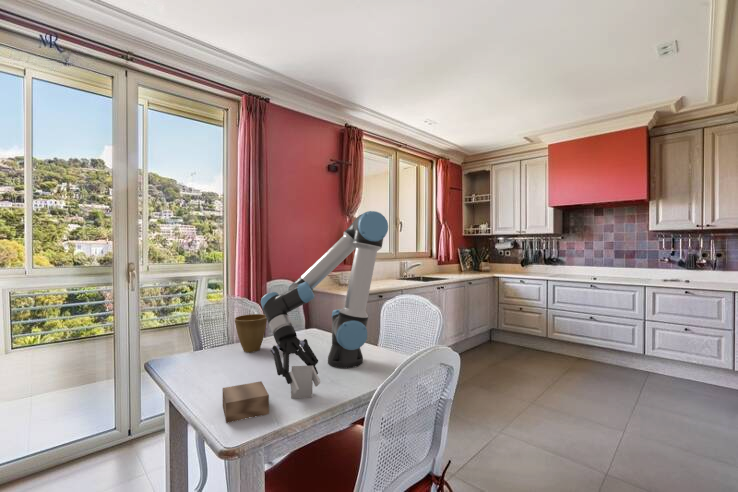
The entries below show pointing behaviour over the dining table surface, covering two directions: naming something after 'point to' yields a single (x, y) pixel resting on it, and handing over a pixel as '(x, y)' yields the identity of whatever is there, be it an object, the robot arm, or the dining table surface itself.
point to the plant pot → (251, 331)
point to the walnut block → (245, 401)
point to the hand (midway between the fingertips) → (307, 387)
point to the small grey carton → (302, 381)
